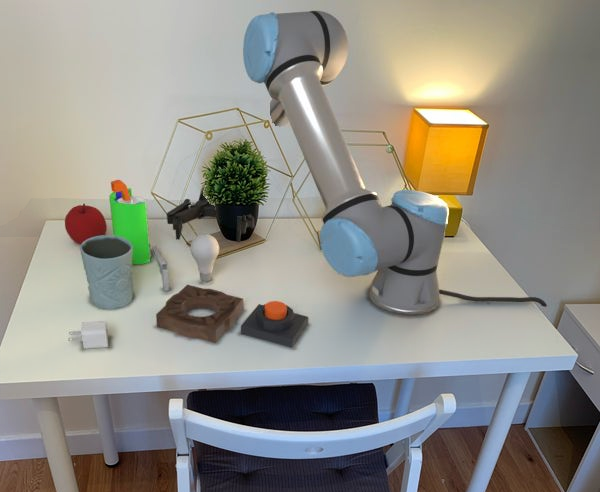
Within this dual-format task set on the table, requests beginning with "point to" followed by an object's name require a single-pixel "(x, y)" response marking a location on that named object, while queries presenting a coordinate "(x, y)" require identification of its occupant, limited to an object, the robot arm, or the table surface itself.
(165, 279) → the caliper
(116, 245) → the grey embossed cup
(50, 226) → the table surface
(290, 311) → the black button base
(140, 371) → the table surface
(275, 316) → the test button
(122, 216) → the green-shelled ribbed roller
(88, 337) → the usb wall charger
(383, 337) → the table surface
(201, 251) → the lightbulb
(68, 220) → the apple
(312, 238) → the table surface
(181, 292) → the bulb stand
